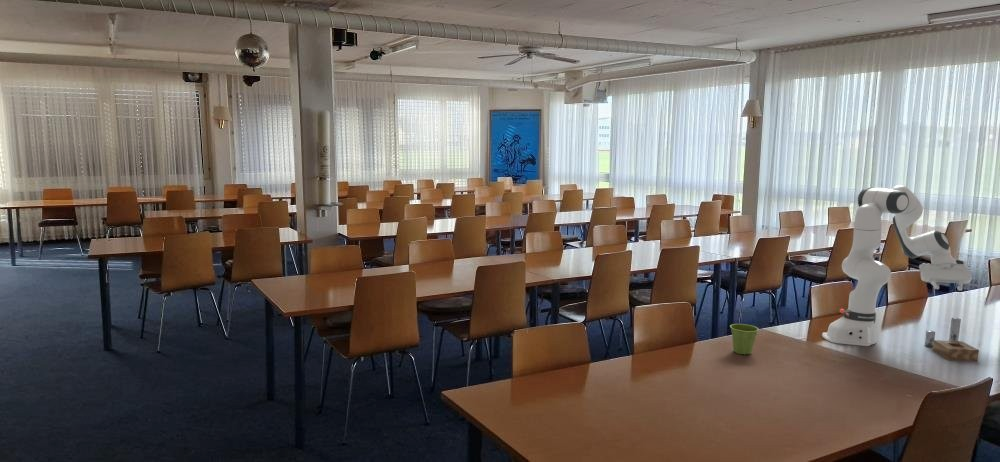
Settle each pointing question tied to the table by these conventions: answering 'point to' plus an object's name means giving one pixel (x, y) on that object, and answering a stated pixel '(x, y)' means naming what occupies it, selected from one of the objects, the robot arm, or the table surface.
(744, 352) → the plant pot
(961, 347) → the hole block
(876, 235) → the robot arm
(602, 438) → the table surface
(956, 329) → the long pin
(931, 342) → the short pin
